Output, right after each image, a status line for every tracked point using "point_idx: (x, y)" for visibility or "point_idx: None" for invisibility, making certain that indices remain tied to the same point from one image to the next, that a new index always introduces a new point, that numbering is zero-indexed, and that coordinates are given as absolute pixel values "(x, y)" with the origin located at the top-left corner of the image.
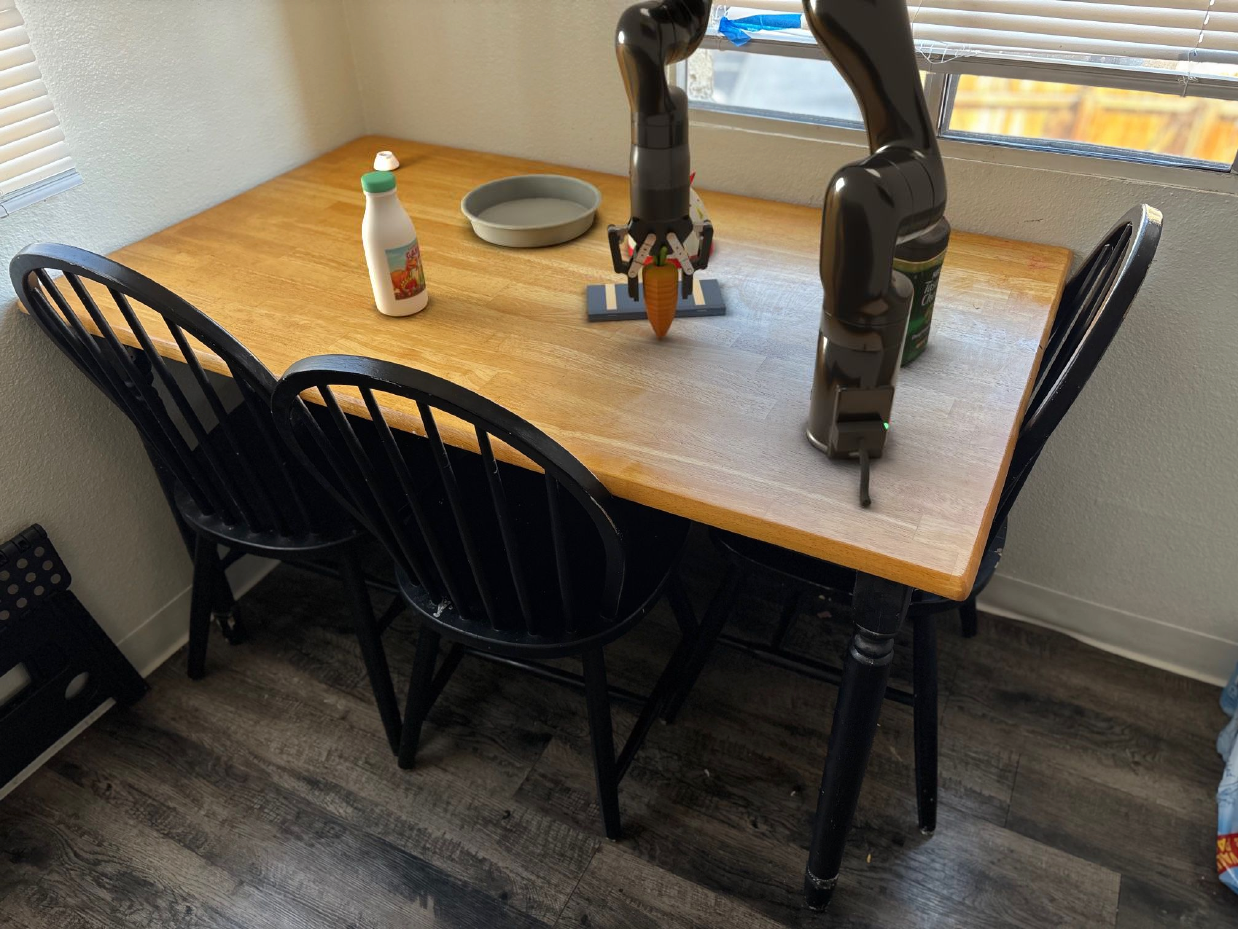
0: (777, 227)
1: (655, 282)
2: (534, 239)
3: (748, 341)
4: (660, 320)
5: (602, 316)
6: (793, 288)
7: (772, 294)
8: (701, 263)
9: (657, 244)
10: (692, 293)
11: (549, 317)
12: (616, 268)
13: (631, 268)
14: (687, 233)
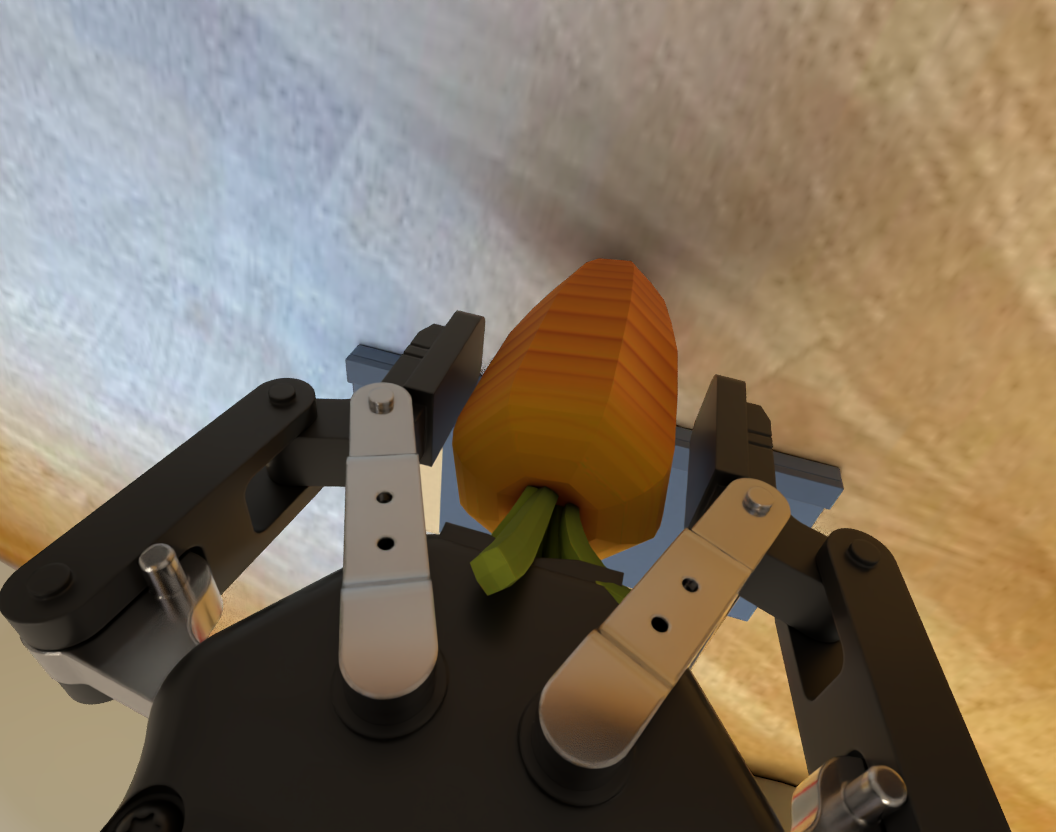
0: (223, 624)
1: (621, 392)
2: (790, 807)
3: (289, 137)
4: (622, 271)
5: (787, 466)
6: (164, 405)
7: (218, 398)
8: (285, 409)
9: (538, 632)
10: (443, 473)
11: (963, 538)
12: (882, 567)
13: (767, 531)
14: (242, 634)
